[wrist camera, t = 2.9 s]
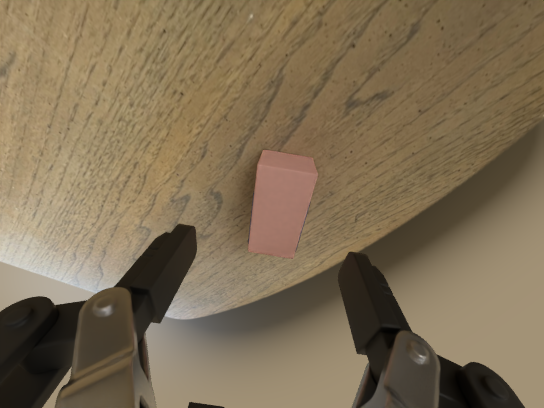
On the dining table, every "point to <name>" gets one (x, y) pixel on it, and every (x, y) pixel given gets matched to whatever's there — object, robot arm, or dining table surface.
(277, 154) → the eraser
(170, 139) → the dining table surface
